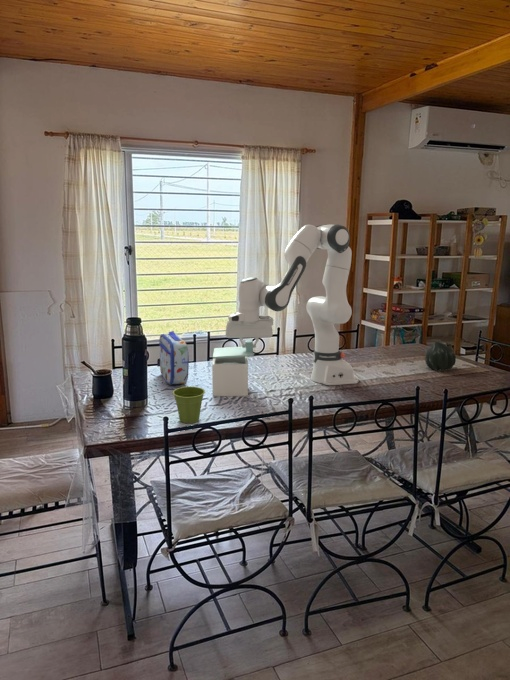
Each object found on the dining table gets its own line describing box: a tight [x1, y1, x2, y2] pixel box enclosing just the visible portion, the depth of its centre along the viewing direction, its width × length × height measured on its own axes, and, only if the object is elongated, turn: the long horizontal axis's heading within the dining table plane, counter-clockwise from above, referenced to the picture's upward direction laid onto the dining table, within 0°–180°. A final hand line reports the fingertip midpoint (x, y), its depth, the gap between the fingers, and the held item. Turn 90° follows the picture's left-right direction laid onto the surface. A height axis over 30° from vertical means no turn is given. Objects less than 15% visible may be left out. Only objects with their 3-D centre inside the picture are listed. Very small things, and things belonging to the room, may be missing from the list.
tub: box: [211, 357, 249, 397], centre depth 220 cm, size 15×14×14 cm
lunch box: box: [156, 330, 190, 385], centre depth 235 cm, size 28×10×22 cm, turn 23°
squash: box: [424, 341, 457, 372], centre depth 257 cm, size 14×15×15 cm
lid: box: [212, 339, 255, 360], centre depth 217 cm, size 17×15×5 cm
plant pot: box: [172, 386, 206, 424], centre depth 187 cm, size 12×12×11 cm
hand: (249, 347), depth 218 cm, fingers closed on lid, 3 cm apart
